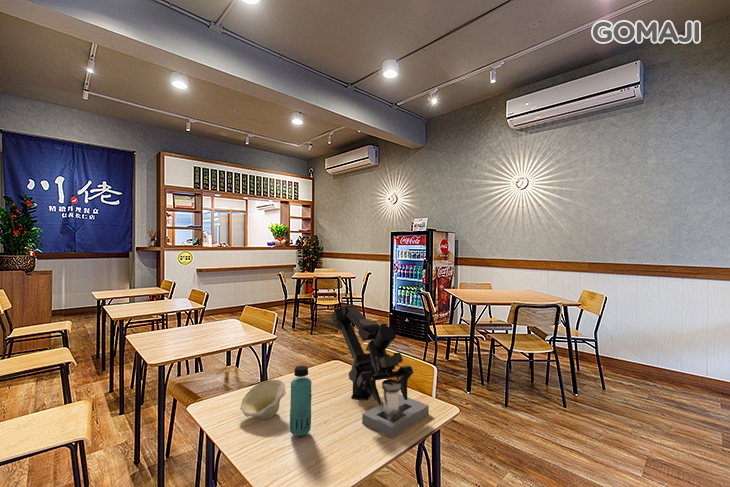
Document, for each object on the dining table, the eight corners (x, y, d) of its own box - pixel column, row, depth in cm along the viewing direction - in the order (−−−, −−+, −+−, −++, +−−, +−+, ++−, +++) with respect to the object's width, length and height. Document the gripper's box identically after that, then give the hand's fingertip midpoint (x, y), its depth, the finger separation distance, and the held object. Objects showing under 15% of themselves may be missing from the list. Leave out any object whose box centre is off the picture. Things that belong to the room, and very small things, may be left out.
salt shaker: (383, 429, 102) (383, 387, 102) (380, 419, 108) (380, 379, 108) (402, 428, 103) (402, 386, 103) (398, 419, 109) (398, 379, 109)
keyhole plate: (391, 438, 97) (391, 428, 98) (362, 423, 106) (362, 413, 106) (428, 414, 112) (428, 405, 112) (400, 402, 120) (400, 394, 120)
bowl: (231, 416, 109) (232, 385, 109) (269, 402, 119) (270, 374, 119) (255, 434, 99) (255, 400, 99) (294, 417, 109) (294, 386, 109)
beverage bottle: (292, 443, 94) (293, 372, 95) (286, 431, 100) (287, 365, 100) (314, 437, 97) (315, 369, 98) (307, 426, 103) (308, 362, 103)
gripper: (360, 347, 106) (374, 396, 95) (411, 341, 113) (429, 386, 103) (351, 363, 113) (363, 411, 102) (399, 357, 120) (415, 401, 110)
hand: (393, 402), depth 104 cm, fingers open, 9 cm apart
